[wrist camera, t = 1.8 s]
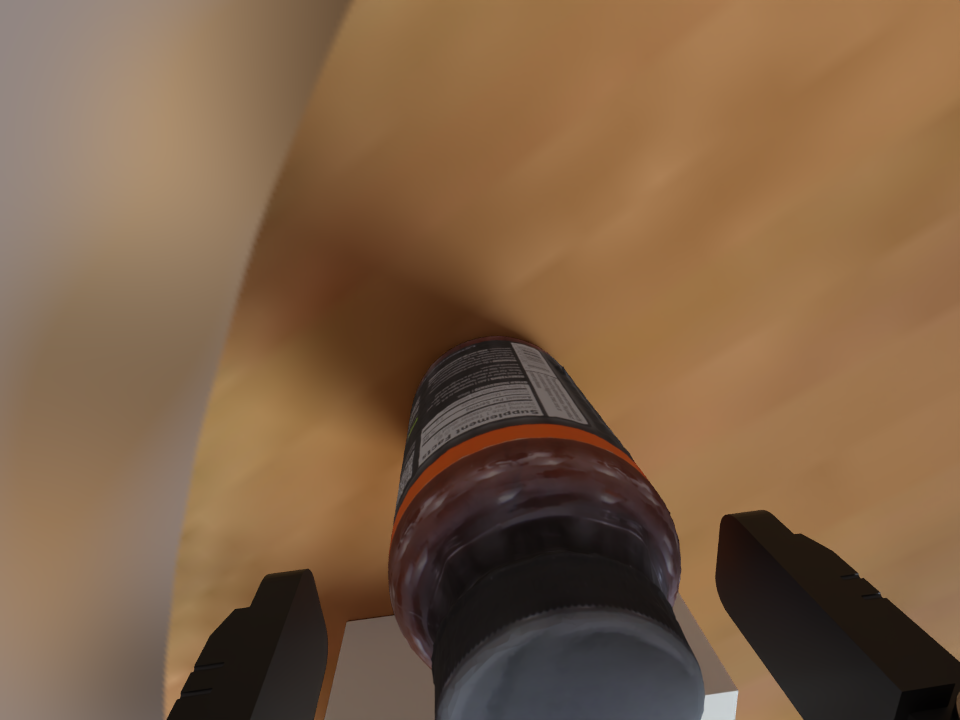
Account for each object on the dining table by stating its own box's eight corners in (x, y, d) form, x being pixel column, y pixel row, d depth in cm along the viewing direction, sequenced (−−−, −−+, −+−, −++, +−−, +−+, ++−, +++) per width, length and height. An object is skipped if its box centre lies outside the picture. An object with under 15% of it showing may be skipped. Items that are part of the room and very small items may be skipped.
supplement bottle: (580, 463, 18) (770, 822, 8) (430, 491, 18) (411, 895, 8) (564, 316, 17) (787, 521, 6) (395, 346, 16) (307, 613, 6)
